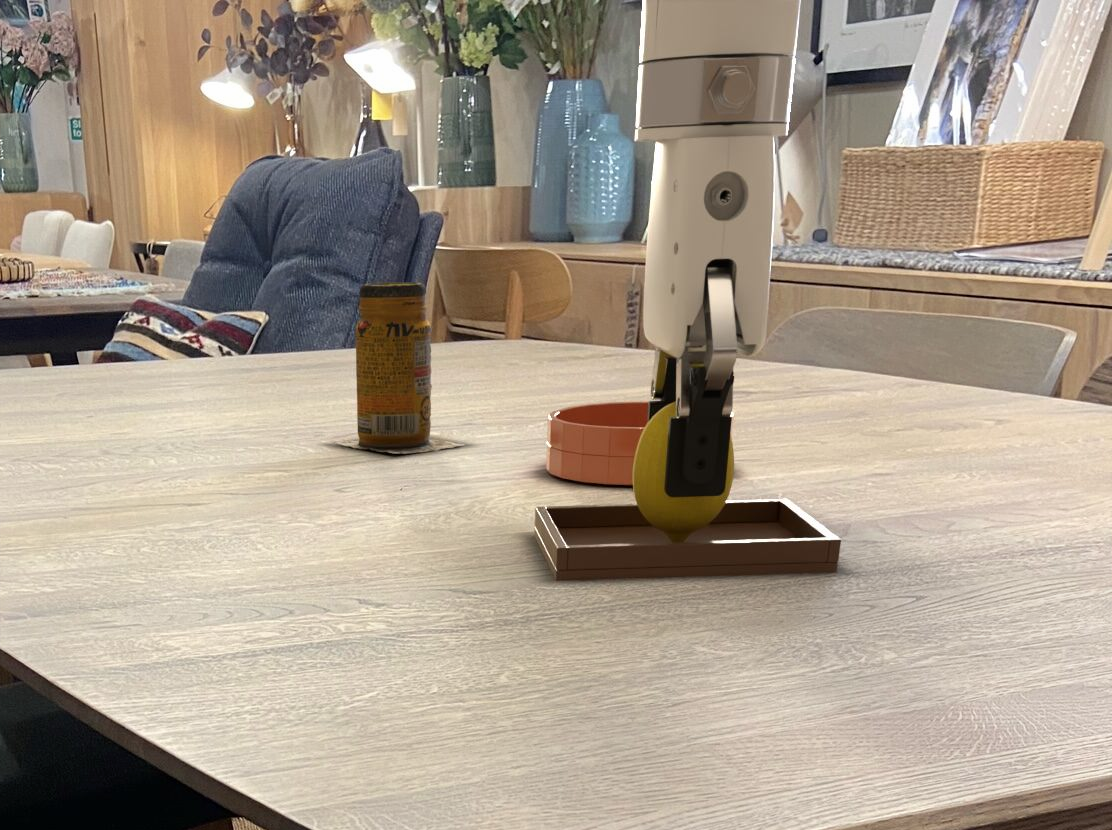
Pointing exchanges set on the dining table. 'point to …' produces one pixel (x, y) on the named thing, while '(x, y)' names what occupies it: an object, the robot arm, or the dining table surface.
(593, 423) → the bowl
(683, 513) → the lemon
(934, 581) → the dining table surface
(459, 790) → the dining table surface
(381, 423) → the condiment
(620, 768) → the dining table surface
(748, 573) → the tray
